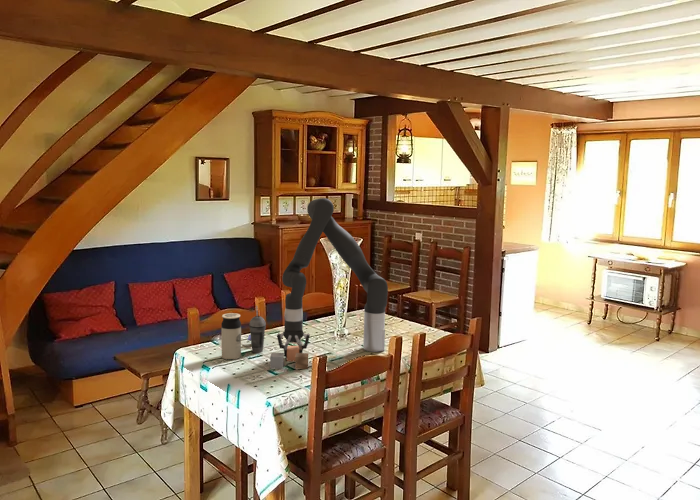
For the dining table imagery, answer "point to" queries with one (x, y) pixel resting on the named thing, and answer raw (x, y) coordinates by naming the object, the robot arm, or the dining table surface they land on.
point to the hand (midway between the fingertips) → (293, 357)
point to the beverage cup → (257, 333)
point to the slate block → (276, 360)
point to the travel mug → (231, 336)
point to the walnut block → (301, 361)
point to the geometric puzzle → (249, 337)
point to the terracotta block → (292, 352)
